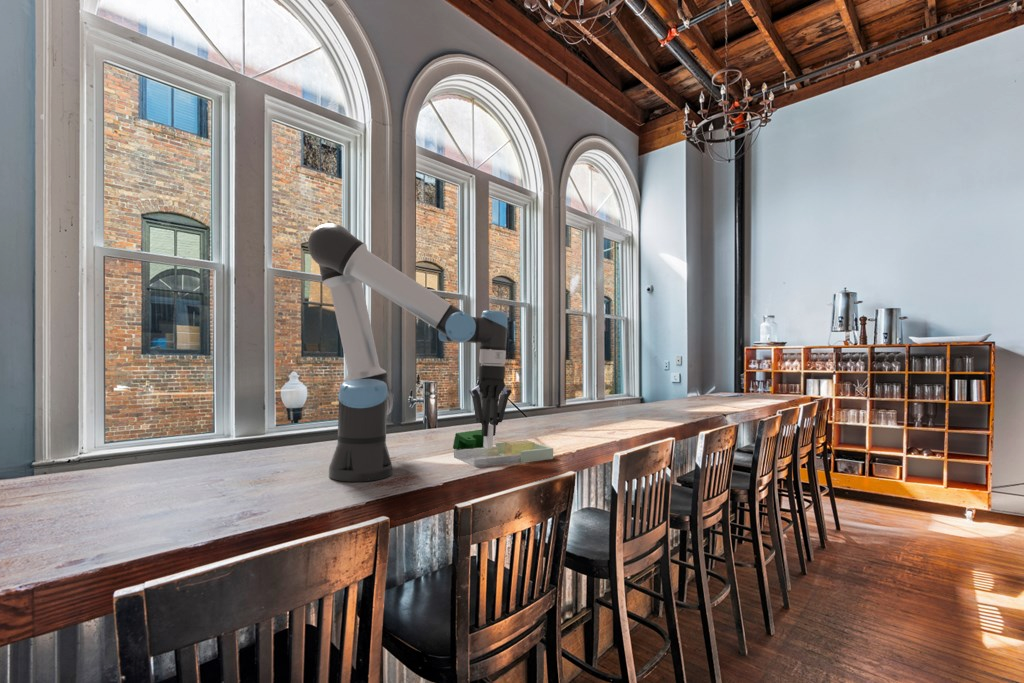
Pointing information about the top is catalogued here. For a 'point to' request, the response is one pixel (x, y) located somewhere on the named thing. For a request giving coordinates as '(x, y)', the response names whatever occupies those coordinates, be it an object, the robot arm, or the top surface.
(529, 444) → the pale yellow cube
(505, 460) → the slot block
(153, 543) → the top surface
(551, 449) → the tray
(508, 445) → the chip
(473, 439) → the clamp
